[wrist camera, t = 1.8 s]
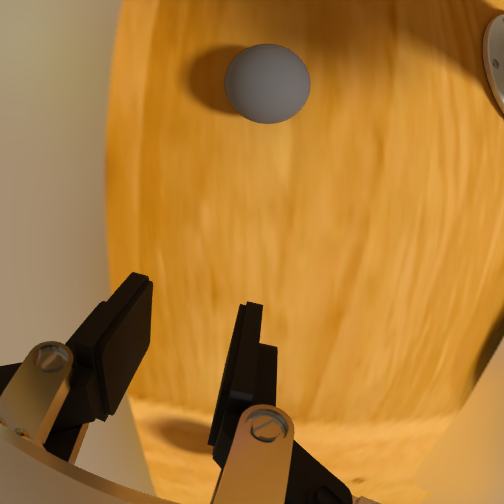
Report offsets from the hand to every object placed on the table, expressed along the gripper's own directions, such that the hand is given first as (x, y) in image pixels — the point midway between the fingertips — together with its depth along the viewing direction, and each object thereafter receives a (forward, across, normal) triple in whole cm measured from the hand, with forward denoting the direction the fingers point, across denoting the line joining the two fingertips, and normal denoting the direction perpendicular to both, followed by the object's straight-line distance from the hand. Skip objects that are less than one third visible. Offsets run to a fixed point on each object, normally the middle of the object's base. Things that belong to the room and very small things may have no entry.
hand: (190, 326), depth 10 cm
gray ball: (+13, 0, -10) cm, 16 cm away
